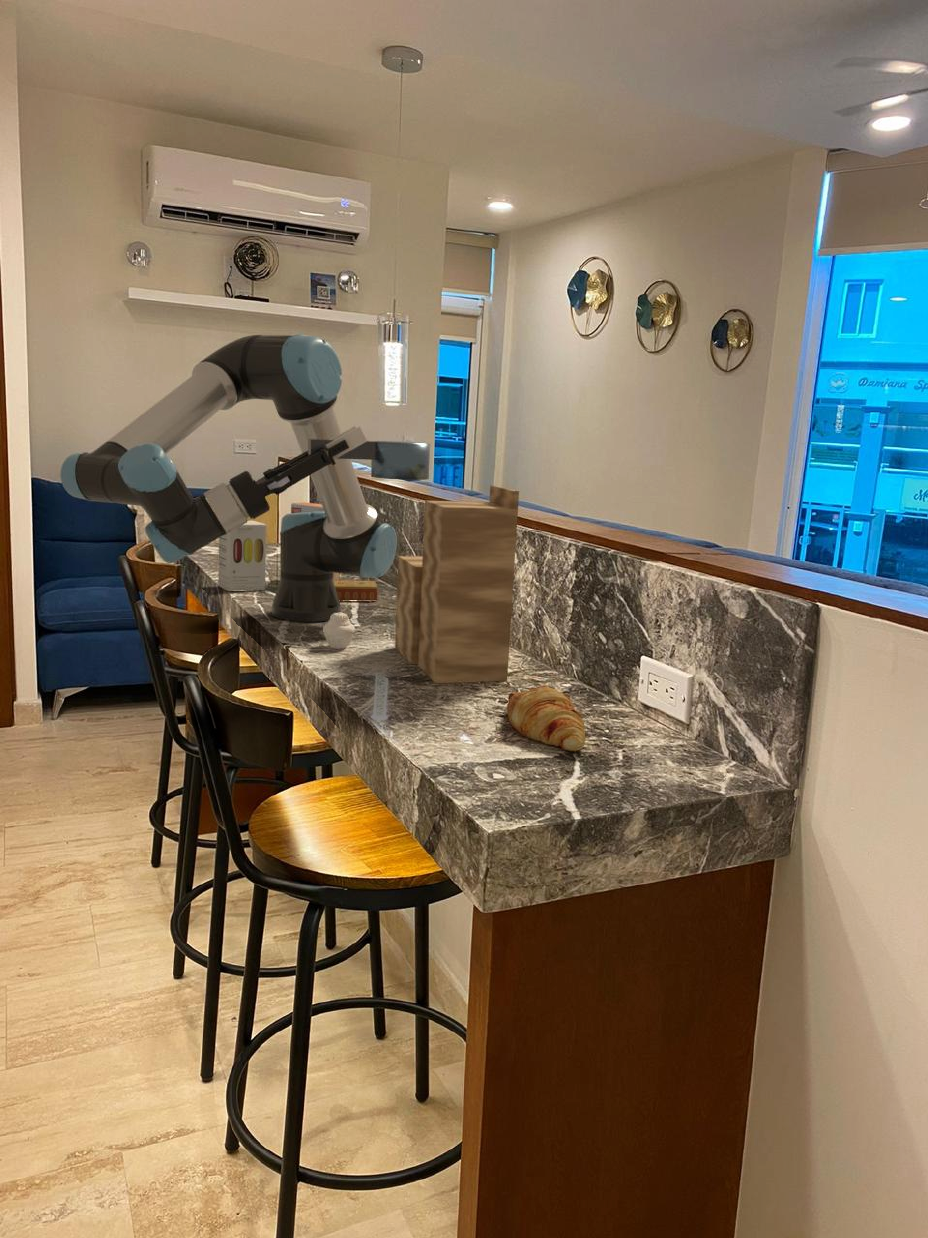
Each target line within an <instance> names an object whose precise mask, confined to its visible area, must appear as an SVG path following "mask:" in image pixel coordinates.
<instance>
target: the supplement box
mask: <svg viewBox="0 0 928 1238" xmlns="http://www.w3.org/2000/svg"><path fill="white" fill-rule="evenodd" d="M220 523H221V522H220ZM221 525H222V524H221ZM222 526H223V525H222ZM223 528H224V527H223ZM237 528H238V530H239V531H238V532H237V533H234V532H233V531H232V530H231V531H230V532H229V533H227V532H226V533H227V534H225V535H223V536H221V537H219V538H218V579H217V580H218V587H219V588H222V589H223V590H226V591H227V590H228V591H227V592H229V591H233V590H265V591H266V559H267V524H266V523H263V522H259V521H256V520H248V521H247V523H245V524H243V525H241V526H240V527H237ZM224 530H225V529H224ZM225 531H226V530H225Z"/></svg>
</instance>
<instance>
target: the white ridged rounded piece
mask: <svg viewBox="0 0 928 1238" xmlns="http://www.w3.org/2000/svg"><path fill="white" fill-rule="evenodd" d="M322 631H323V634H324V638H325V639H326V642H327V643H328V645H329V647H330V648H331V649H334V650H343V649H344V650H345V649H347V648H348V646H349V644H350V642H351V641H352V639H353V637H354V634H355V631H356V628H355V626H354V625H353V624H352V623H351V621H350V617H349V616H348V615H347V613H344V612H341V613H340V612H339V613H334V614H332V615H331V616H330V620H327V623H326V624H324V625H323V628H322Z"/></svg>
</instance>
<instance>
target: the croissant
mask: <svg viewBox="0 0 928 1238" xmlns="http://www.w3.org/2000/svg"><path fill="white" fill-rule="evenodd" d="M507 699H508V703H507V706H506V711H507V717H508V721H509V723H510V725H511V726H512V727H513V728H514V729H515V730H516V731H518V732H519V733H520V734H521V735H522V736H524V737H526V738H528V739H531V740H535V741H537V742H542V744H545V745H549V746H554V747H556V748H557V747H561V749H563V750H564V751H569V752H575V751H576V752H577V751H579V750H581V749H583V748H584V747H585V743H586V728H585V722H584V721H583V719H582V715H581V714H580V712H578V710H576V709H575V706H574V704H573V703H572V700H571V698H570V697H569V696H568V695H566V694H565V693H562V692H561V691H559V690H558V689H554V688H551V687H549V686H547V685H542V686H538V687H534V688H532V689H529V690H526V691H518V692H510V693H509V695H508V696H507Z"/></svg>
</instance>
